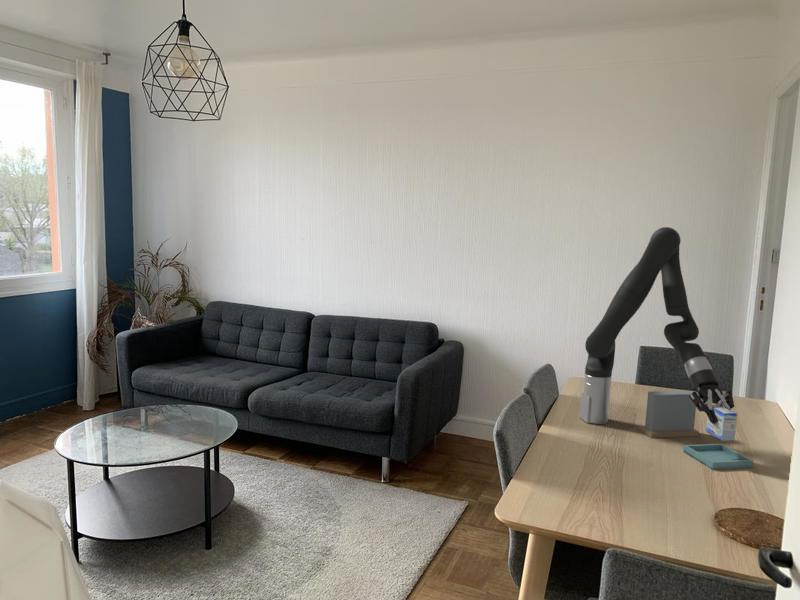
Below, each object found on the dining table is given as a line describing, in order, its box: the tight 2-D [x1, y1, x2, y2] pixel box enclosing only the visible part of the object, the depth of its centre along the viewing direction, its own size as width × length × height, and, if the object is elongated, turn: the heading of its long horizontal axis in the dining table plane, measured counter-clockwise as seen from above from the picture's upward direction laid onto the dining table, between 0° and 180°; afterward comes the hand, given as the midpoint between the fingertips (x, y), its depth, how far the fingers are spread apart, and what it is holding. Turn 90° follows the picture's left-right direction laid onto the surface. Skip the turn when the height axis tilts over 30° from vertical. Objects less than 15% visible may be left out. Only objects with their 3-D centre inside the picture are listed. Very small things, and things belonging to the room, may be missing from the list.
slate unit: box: [639, 390, 700, 438], centre depth 205 cm, size 18×7×14 cm, turn 100°
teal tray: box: [682, 443, 754, 471], centre depth 183 cm, size 14×14×2 cm
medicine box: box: [705, 404, 738, 441], centre depth 182 cm, size 8×4×9 cm, turn 7°
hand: (723, 422), depth 181 cm, fingers closed on medicine box, 4 cm apart
